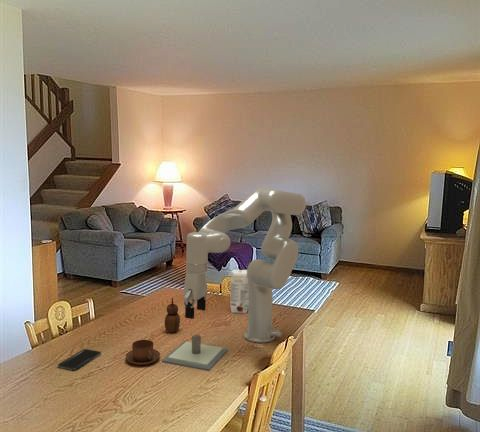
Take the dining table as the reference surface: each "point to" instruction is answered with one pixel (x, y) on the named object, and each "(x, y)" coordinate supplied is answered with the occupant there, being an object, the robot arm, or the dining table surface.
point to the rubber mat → (195, 364)
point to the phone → (79, 360)
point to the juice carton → (239, 291)
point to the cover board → (195, 358)
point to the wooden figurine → (172, 318)
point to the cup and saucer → (142, 353)
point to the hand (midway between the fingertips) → (195, 313)
